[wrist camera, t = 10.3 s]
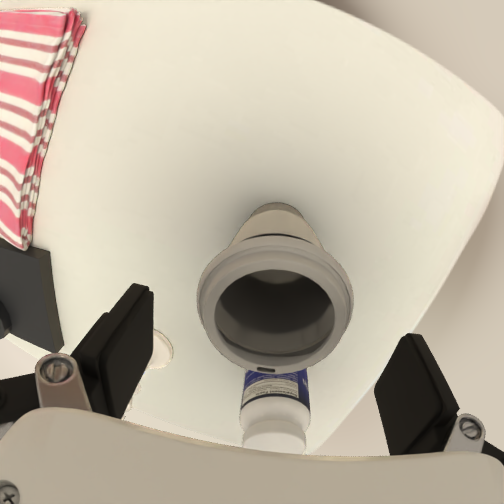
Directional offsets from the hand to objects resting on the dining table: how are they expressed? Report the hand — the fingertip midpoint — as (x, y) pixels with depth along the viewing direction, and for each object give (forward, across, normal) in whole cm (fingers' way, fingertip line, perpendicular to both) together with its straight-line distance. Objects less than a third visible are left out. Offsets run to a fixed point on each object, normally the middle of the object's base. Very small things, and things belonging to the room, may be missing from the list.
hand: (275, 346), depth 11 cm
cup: (+14, 0, 0) cm, 14 cm away
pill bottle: (+14, -3, +13) cm, 20 cm away
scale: (+14, +27, +12) cm, 33 cm away
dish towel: (+14, +29, -6) cm, 33 cm away
